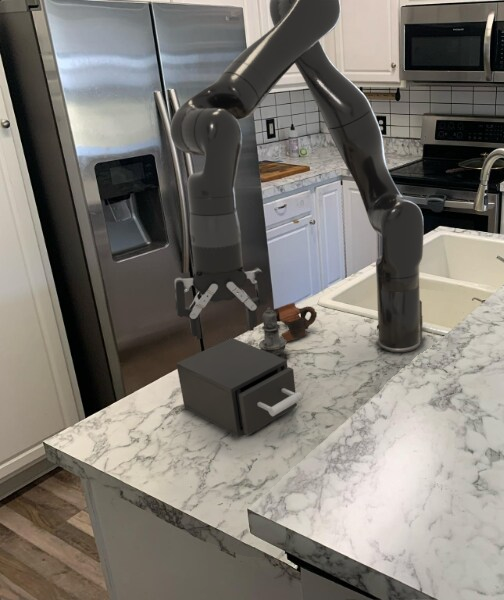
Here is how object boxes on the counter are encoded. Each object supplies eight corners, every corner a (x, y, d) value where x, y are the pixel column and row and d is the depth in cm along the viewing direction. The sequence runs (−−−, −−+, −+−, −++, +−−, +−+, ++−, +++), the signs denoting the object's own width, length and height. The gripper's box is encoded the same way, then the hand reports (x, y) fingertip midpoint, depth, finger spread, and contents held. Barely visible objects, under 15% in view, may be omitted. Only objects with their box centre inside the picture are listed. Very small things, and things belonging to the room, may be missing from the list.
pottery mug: (272, 348, 137) (259, 314, 137) (275, 347, 146) (263, 315, 147) (323, 328, 139) (309, 294, 139) (322, 329, 148) (310, 297, 148)
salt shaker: (282, 365, 129) (276, 313, 124) (256, 363, 130) (249, 311, 125) (292, 352, 134) (287, 302, 129) (266, 350, 135) (261, 300, 130)
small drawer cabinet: (291, 404, 115) (286, 359, 111) (237, 437, 105) (230, 389, 102) (238, 380, 123) (232, 337, 120) (184, 408, 114) (176, 363, 111)
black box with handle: (314, 413, 110) (311, 376, 107) (266, 445, 102) (261, 405, 99) (246, 382, 121) (241, 347, 118) (197, 408, 113) (190, 371, 110)
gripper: (256, 229, 102) (262, 319, 108) (166, 237, 97) (177, 331, 102) (266, 240, 96) (272, 335, 102) (170, 249, 90) (182, 349, 96)
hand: (224, 333), depth 102 cm, fingers open, 8 cm apart
